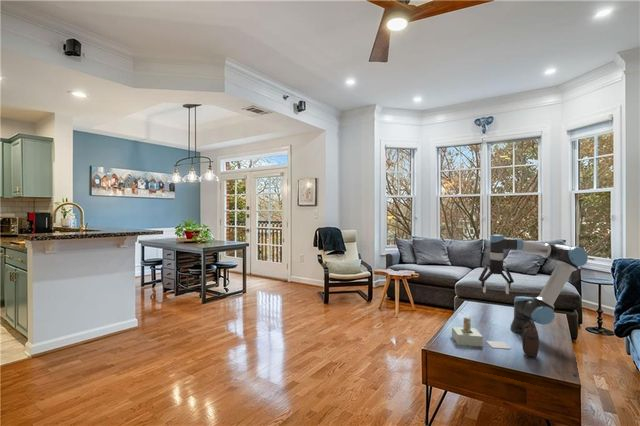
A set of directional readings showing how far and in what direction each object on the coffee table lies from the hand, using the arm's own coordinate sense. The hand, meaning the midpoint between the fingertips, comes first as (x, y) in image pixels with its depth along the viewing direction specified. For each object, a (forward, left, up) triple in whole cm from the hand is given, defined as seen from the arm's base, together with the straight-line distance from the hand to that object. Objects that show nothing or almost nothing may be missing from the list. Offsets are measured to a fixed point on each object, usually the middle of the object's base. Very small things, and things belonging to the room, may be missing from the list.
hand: (495, 293), depth 211 cm
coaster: (+2, +11, -29) cm, 31 cm away
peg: (+19, +8, -29) cm, 35 cm away
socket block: (+19, +8, -29) cm, 35 cm away
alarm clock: (-10, +24, -29) cm, 39 cm away
